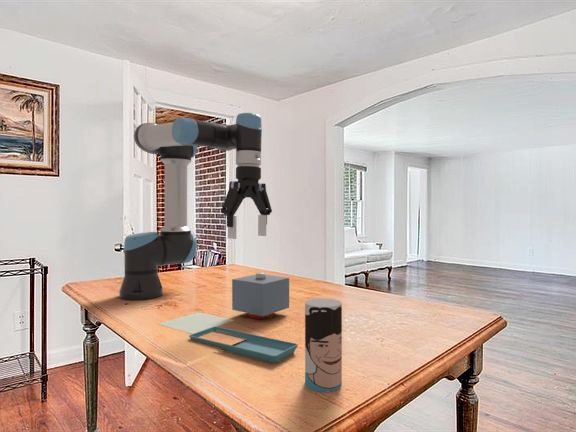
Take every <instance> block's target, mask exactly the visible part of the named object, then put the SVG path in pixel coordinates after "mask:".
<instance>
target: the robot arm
mask: <svg viewBox="0 0 576 432" xmlns="http://www.w3.org/2000/svg"><path fill="white" fill-rule="evenodd" d="M262 130H263V128H262V117H261V115H259V114H257V113H253V112H242V113H238V114H237V115H236V118H235V123H234V124H222V123H218V122H217V123H216V122H212V121H211V122H210V121H206V120H204V121H203V120H199V119H194V118H191V117H177V118H176V119H175V121H173V122H167V123H165V122H164V123H159V122H158V123H156V122H144V123H141V124H139V125H138V126H137V127H136V129H135V130H134V134H133V138H134V142H135V144H136V146H137V147H138V148H139V149H140V150H141V151H143V152H145V153H147V154H150V155H151V154H152V155H157V156H158V155H159V156H160V162H161V163H163V164H164V226H163V227H162V228H161V229H160V233H159V234H160V235H159V234H158V232H157V231H148V232H147V231H146V232H139V233H135V234H130V235H128V236H127V235H126V237H125V238H124V246H123V251H124V252H123V254H124V259H123V260H124V261H123V262H124V277H123V278H122V282H121V286H120V288H119V294H118V295H119V298H120V299H122V300H127V301H128V300H129V301H136V300H137V301H138V300H139V301H140V300H149V299H154V298H159V297H161V296H162V295H164V291H163V285H162V283H161V279H160V277H159V272H158V271H159V270H158V268H159V267H161V266H168V265H169V266H170V265H181V264H187V263H190V262H191V261H193V258H195V256H196V253H197V249H198V241H197V240H196V239H197V238H196V235H194V234H193V233H192V229H191V228H189V226H188V165H190V163H192V159H193V158H194V157H196V155H197V151H198V147H205V148H206V147H207V148H213V149H217V150H219V151H227V152H228V151H232V150H235V165H236V168H235V179H236V180H237V181H229V185H228V190H227V194H226V196H225V199H224V201H223V204H222V207H221V208H220V209H221V210H220V213H221V214H223V216H226V228H227V239H230V240H231V239H232V240H236V239H237V221H238V219H237V218H238V217H237V215H236V213H237V211H238V210H239V208H240V206H241V204H242V203H243V201H244V200H245V199H246V198H250V199H251V200H252V201H253V203H254V205H255V206H256V208H257V210H258V212H259V214H258V215H257V216H258V220H257V222H258V223H257V229H258V231H257V236H259V237H261V236H262V237H267V225H268V216H270V215H271V213H273V209H272V206H271V203H270V200H269V196H268V193H267V185H266V183H259V181H260V180H261V178H262V168H261V165H262V137H263V136H262V133H263V132H262Z"/></svg>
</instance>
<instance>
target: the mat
mask: <svg viewBox="0 0 576 432" xmlns="http://www.w3.org/2000/svg"><path fill="white" fill-rule="evenodd" d="M234 321H236V320H235V319H230V318H226V317H222V316H219V315H218V316H216V315H212V314H209V313H205V312H199V311H198V312H196V313H192V314H189V315H188V314H187V315H184V316H180V317H177V318H173V319H169V320H166V321H162V322H159V323H157V325H160V326H164V327H165V328H166V327H167V328H171V329H172V330H173V329H174V330H177V331H180V332H185V333H188V334H190V335H192V334H194V333H197V332H200V331H203V330H206V329H209V328H212V327H220V326H223V325H226V324H228V323H232V322H234Z"/></svg>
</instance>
